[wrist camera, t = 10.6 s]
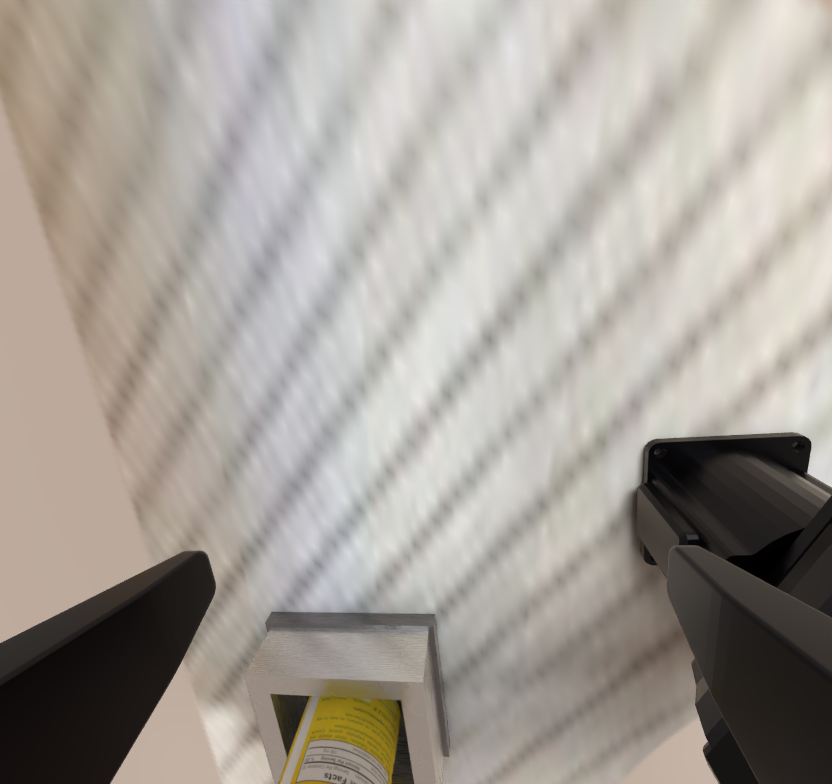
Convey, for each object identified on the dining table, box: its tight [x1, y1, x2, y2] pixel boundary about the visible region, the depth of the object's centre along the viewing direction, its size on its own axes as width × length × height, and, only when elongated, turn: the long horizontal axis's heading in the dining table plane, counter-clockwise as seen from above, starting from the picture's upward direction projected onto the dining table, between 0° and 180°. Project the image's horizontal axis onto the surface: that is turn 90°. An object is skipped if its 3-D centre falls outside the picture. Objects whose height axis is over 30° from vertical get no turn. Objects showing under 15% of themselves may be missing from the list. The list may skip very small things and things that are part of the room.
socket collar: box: [244, 612, 450, 784], centre depth 23 cm, size 10×10×4 cm
